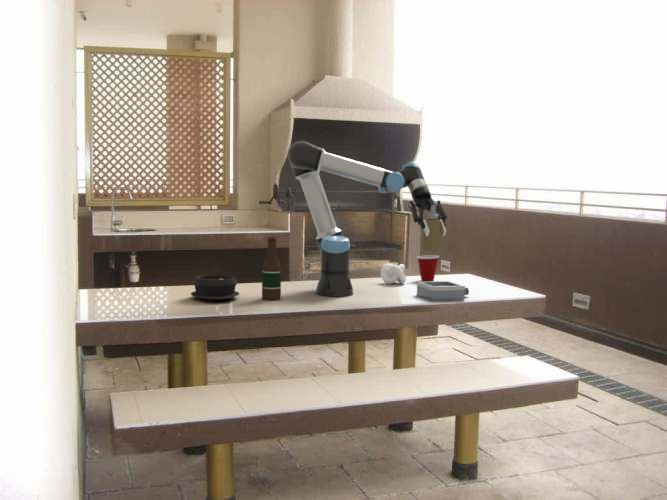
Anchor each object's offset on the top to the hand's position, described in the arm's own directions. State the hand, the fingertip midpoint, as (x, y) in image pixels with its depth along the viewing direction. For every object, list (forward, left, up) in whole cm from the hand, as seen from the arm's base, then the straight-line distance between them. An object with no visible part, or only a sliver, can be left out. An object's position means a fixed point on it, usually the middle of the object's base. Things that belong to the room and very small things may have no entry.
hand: (436, 233), depth 267 cm
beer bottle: (-64, +11, -26) cm, 70 cm away
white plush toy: (0, +45, -26) cm, 52 cm away
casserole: (-85, +16, -26) cm, 90 cm away
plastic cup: (+20, +51, -26) cm, 61 cm away
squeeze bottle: (0, +3, -7) cm, 8 cm away
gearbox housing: (+7, +3, -26) cm, 27 cm away
